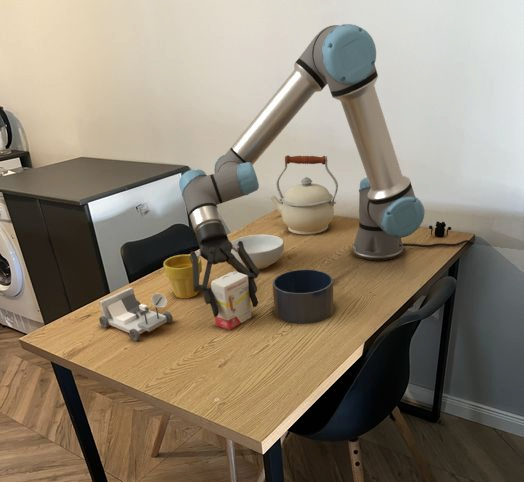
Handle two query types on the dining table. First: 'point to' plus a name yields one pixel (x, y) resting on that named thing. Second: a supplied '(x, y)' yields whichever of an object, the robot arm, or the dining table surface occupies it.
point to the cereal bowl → (261, 249)
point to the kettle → (306, 201)
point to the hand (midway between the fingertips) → (236, 309)
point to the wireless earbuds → (440, 229)
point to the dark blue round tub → (303, 296)
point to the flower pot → (181, 275)
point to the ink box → (231, 299)
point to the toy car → (133, 313)
